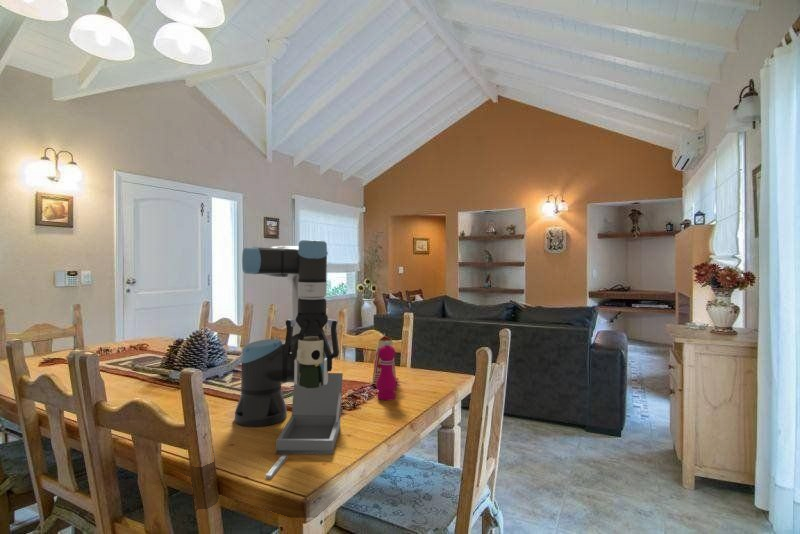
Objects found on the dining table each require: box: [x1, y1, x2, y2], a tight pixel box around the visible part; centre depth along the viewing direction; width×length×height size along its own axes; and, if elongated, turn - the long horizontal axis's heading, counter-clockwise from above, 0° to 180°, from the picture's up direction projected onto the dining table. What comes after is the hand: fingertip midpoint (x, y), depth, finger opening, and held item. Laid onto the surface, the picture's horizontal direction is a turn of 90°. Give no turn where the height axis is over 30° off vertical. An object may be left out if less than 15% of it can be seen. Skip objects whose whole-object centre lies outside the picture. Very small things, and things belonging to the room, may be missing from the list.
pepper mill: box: [375, 341, 397, 401], centre depth 154 cm, size 7×7×20 cm
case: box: [275, 372, 343, 455], centre depth 120 cm, size 14×22×15 cm, turn 1°
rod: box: [265, 454, 288, 480], centre depth 102 cm, size 10×1×1 cm, turn 174°
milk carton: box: [371, 332, 397, 385], centre depth 173 cm, size 9×9×20 cm
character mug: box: [297, 337, 325, 388], centre depth 117 cm, size 11×7×13 cm, turn 152°
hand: (311, 382), depth 117 cm, fingers closed on character mug, 7 cm apart
